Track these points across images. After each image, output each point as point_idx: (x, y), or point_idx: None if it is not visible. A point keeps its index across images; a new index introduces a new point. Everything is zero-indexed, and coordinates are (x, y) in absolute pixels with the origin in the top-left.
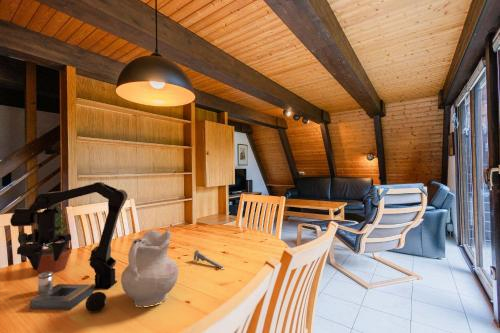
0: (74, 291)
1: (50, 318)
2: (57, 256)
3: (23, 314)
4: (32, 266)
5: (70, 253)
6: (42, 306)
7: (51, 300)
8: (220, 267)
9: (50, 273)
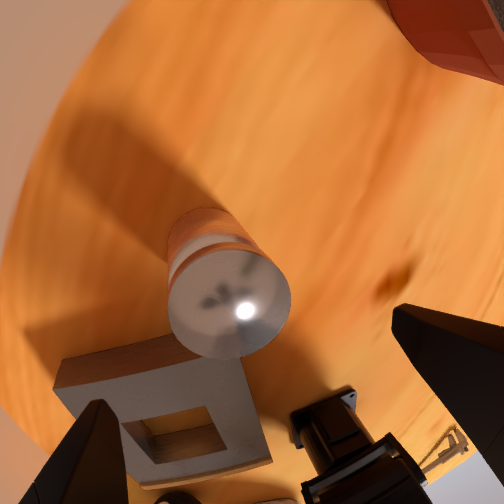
0: (199, 460)
1: None
2: (423, 371)
3: (36, 373)
4: (68, 436)
5: None
6: None
7: None
8: None
9: (243, 348)
